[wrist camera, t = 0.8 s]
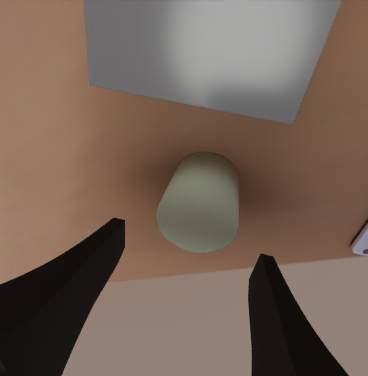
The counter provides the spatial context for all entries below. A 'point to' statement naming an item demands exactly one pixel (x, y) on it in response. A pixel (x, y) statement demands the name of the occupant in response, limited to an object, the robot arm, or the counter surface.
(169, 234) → the green cylinder
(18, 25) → the counter surface
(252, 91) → the slate base
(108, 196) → the counter surface
